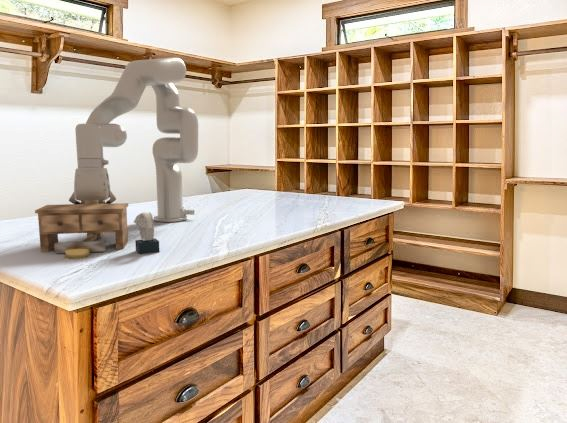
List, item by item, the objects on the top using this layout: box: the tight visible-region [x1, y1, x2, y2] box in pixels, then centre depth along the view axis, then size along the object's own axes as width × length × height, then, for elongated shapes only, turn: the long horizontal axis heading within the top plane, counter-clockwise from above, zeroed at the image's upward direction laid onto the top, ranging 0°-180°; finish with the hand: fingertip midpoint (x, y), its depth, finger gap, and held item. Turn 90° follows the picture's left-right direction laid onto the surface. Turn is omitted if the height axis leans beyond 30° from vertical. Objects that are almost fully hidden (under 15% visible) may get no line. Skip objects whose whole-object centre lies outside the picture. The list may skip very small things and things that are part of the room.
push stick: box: [53, 200, 107, 254], centre depth 140 cm, size 13×23×16 cm, turn 11°
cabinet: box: [34, 202, 129, 253], centre depth 138 cm, size 23×12×12 cm, turn 101°
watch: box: [133, 212, 160, 255], centre depth 133 cm, size 6×8×11 cm
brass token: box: [64, 246, 91, 260], centre depth 128 cm, size 6×6×2 cm
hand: (94, 221), depth 150 cm, fingers closed on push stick, 4 cm apart
